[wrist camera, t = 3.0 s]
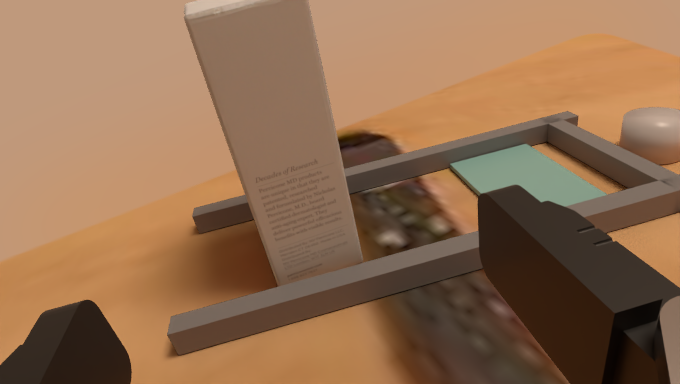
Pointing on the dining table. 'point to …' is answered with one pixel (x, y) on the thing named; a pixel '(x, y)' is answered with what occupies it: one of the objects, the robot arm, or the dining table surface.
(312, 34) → the skincare box
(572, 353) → the robot arm
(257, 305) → the guide channel
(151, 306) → the dining table surface
